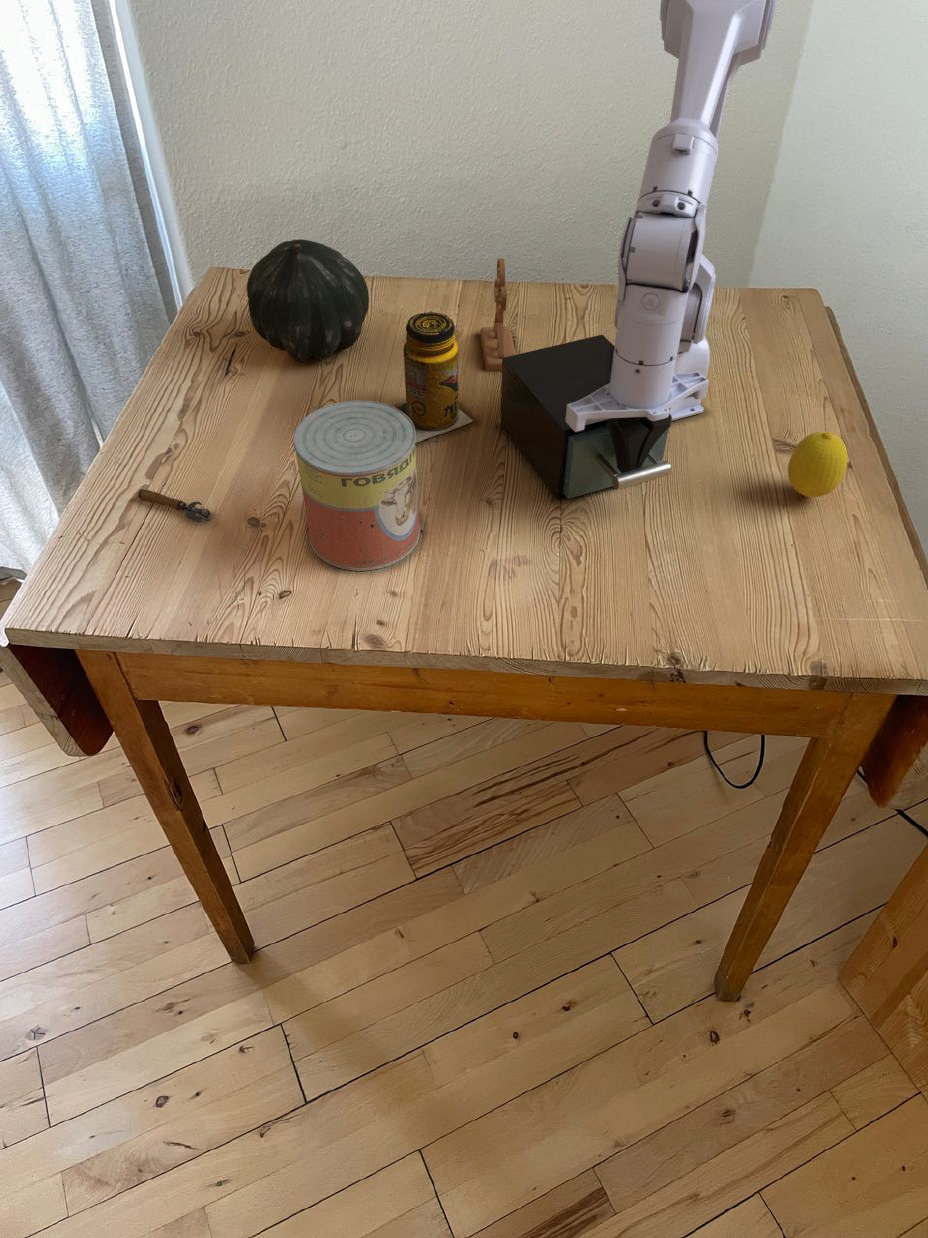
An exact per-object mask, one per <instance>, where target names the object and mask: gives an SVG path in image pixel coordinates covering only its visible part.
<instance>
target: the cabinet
mask: <svg viewBox="0 0 928 1238" xmlns="http://www.w3.org/2000/svg"><path fill="white" fill-rule="evenodd" d="M614 347H615V344H613V343H612V342H611V341H610V340H609V339H608V338H607V337H606V336H605V335H604V334H599V335H598V334H597V335H593V336H590V337H589V336H588V337H586V338H581V339H577V340H573V341H567V342H564V343H561V344H560V343H559V344H555V345H552V346H547V347H543V348H538V349H533V350H530V351H526V352H521V353H517V354H516V355H513V356H508V357H504V358H502V370H501V384H500V408H499V409H500V411H499V428H501V430H502V431H503V432H504V434H505V435H506V436H507V437H508V439H509V440H510V441H511V442H512V444H513V445H514V447H515V449H517V450H518V452H519V453H520V454H521V456H522V457H523V458H524V460H525V461H526V462H527V463H528V464H529V466H530V467H531V468H532V470H533V471H534V472H535V474H536V475H537V476H538V477H539V479H540V480H541V481H542V483H543V484H544V486H546V488H547V489H548V490H549V492H550V493H551V494H552V496H553V497H554V498H555V500H557V501H559V500H563V499H566V498H567V497H566V496H565V494H564V493H563V488H564V478H565V469H566V459H567V450H568V440H569V434H573V433H576V432H575V431H574V430H573V429H572V428H571V427H570V426H569V425H568V424H567V423H566V410H567V404H570V403H573V402H576V401H579V400H581V399H583V398H585V397H586V396H588V395H590V394H591V393H593V392H595V391H597V390H598V389H600V388H602V387H604V386H605V385H607V384H609V383H610V378H611V371H612V363H613V355H614ZM669 410H670V408H669ZM669 412H670V411H669ZM606 424H607V423H606V421H605V420H603V421H599V422H595V423H591V424H587V425H585V428H584V430H588V429H591V428H595V427H599V426H603V425H606ZM584 430H581V431H584ZM578 432H580V431H578Z"/></svg>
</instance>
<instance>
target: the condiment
mask: <svg viewBox="0 0 928 1238" xmlns="http://www.w3.org/2000/svg"><path fill="white" fill-rule="evenodd" d="M455 329H456V326H455V323H454V321H453V319H451V317H450V316H448V315H447V314H443V313H440V312H432V311H429V312H427V311H426V312H421V313H417V314H414V315H412V316H411V317H410V318H409V319H408V321H407V323H406V325H405V331H406V334H405V343H404V346H403V351H402V352H403V364H404V365H403V368H404V388H405V402H403V403H401V404H400V405H396V406H394V407H395V408H397V409H399V410H400V411H402V412H403V413H405V414H406V415H407V416H408V417H409V418H410V419H411V421H412V422H413V424H414V427H415V430H416V440H415V444H417V443H420V442H423V441H424V440H427V439H430V438H433V437H435V436H439V435H442V434H445V433H447V432H450V431H452V430H456V429H457V428H460V427H463V426H465V425H468V424H470V423H472V422H473V419H471V417H470V416H469V415H467V414H466V413H464V412H463V411H462V410H461V409H460V408H459V390H460V389H459V346H458V343H457V341H456V335H455Z"/></svg>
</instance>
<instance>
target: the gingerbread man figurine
mask: <svg viewBox="0 0 928 1238" xmlns="http://www.w3.org/2000/svg"><path fill="white" fill-rule="evenodd" d="M507 294H508V292H507V286H506V266H505V259H504V258H503V257H502V258H497V261H496V278H495V279H494V287H493V297H494V303H495V314H494V322H493V326H483V327H481V328H480V340H481V346H482V347H481V348H482V350H483V351H482V353H483V359H484V365H485V369H486V371H488V372H491V371H502V358H504V357H508V356H513V355H517V354H516V350H515V346H514V345H515V344H514V339H513V334H512V332H511V331H512V329H511V327H510V326H508V325H507V326H504V312H506V309H507V303H508V302H507V301H508V300H507V299H508V295H507Z"/></svg>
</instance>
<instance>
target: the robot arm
mask: <svg viewBox="0 0 928 1238" xmlns="http://www.w3.org/2000/svg"><path fill="white" fill-rule="evenodd" d="M777 5H778V0H660V9H659V20H660V24H661V40H662V41H663V50H664V52H666V53H668V54H669V55H670V56H673V57H674V58H676V59H678V62H677V68H676V77H675V82H674V83H675V84H674V89H673V90H674V91H673V98H672V106H671V112H670V119H669V123H668V124H667V125H665V126H663V127H661V128H660V129H658V131H657V132H656V133H655V134H654V135H653V136H652V138H651V140H650V145H649V149H648V153H647V158H646V162H645V166H644V171H643V175H642V179H641V184H640V189H639V192H638V198H637V202H636V207H635V209H634V215H633V218H632V216H628V217H627V220H626V222H625V225H624V228H623V231H622V235H621V239H620V244H619V252H618V259H617V273H618V274H617V276H618V277H617V278H618V289H617V299H616V305H615V311H614V321H613V326H614V327H615V329H616V331H615V339H614V346H615V347H614V355H613V363H612V371H611V378H610V383H609V384H607V385H605V386H604V387H602V388H600V389H598V390H597V391H595V392H593V393H591V394H590V395H588V396H586V397H585V398H583V399H581V400H579V401H576V402H573V403H570V404H567V410H566V423H567V424H568V425H569V426H570V427H571V428H572V429H573V430H574V431H575V432H578V431H581V430H584V428H585V425H587V424H591V423H595V422H599V421H603V420H605V421H606V423H607V425H608V428H609V430H610V433H611V436H612V440H613V444H614V448H615V454H616V463H617V468H618V470H619V471H620V472H621V473H625V472H628V471H632V470H635V469H639V468H641V467H642V465H643V463H644V461H645V459H646V457H647V455H648V454H649V452H650V450H651V449H652V447H653V446H654V444H655V443H656V441H657V440H658V439H659V438H660V436H661V435H662V434H663V433H664V432H665V431H666V430H667V429H668V428H669V429H670V428H671V425H672V421H676V420H679V419H683V418H687V417H691V416H695V415H699V414H702V413H703V412H704V409H705V408H704V407H703V405H701V404H702V403H701V402H702V399H705V398H706V397H707V392H708V388H709V383H710V380H709V379H708V378H707V377H708V371H709V367H710V363H711V362H710V360H711V351H710V346H709V342H708V340H707V338H706V336H705V334H706V330H707V325H708V322H709V321H708V320H709V316H710V311H711V307H712V302H713V298H714V293H715V282H716V278H717V273H716V272H715V270H716V268H715V266H714V265H713V263H712V262H710V261H709V259H708V258H707V257H706V256H705V255H704V254H703V249H704V244H705V237H706V215H707V209H708V200H709V196H710V193H711V192H710V191H711V187H712V183H713V178H714V175H715V169H716V164H717V161H718V156H719V150H720V149H719V148H720V147H719V143H718V140H719V136H720V130H721V125H722V122H723V121H722V120H723V115H724V110H725V107H726V101H727V97H728V91H729V89H730V86H731V85H732V82H733V81H734V78H735V77H736V76H737V73H738V71H739V69H740V67H741V66H744V65H746V64H750V63H752V62H755V61H758V60H760V59H761V57H762V53H763V52H762V51H763V50H765V49H766V47H767V44H768V38H769V33H770V31H771V30H772V28H773V21H774V17H775V13H776V8H777ZM669 408H670V410H669ZM669 411H670V412H669Z"/></svg>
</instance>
